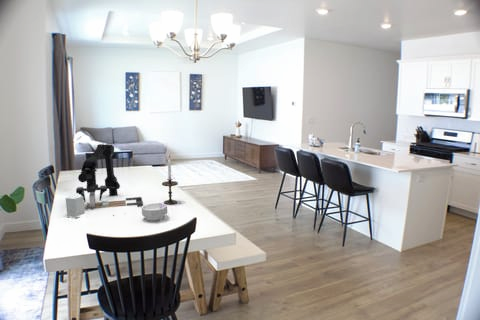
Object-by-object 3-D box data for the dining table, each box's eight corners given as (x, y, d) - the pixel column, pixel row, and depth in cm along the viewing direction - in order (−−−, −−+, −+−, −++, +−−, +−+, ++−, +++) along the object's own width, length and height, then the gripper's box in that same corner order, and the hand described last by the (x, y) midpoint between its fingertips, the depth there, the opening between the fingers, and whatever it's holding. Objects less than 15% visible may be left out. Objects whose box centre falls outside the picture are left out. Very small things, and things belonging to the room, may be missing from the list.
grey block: (90, 203, 247) (90, 190, 245) (95, 203, 248) (94, 190, 246) (89, 208, 237) (89, 194, 236) (94, 207, 238) (94, 194, 237)
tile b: (102, 205, 244) (102, 202, 244) (108, 204, 245) (108, 202, 245) (102, 206, 240) (102, 204, 240) (108, 206, 241) (108, 203, 241)
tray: (126, 202, 256) (125, 198, 256) (141, 201, 260) (141, 196, 259) (126, 207, 243) (126, 203, 243) (143, 206, 246) (142, 202, 246)
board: (87, 205, 248) (87, 203, 248) (125, 202, 256) (125, 200, 256) (85, 211, 235) (85, 209, 235) (126, 207, 243) (126, 205, 243)
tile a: (102, 203, 248) (102, 201, 248) (108, 202, 249) (108, 200, 249) (102, 204, 244) (102, 202, 244) (108, 204, 246) (108, 202, 245)
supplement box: (85, 215, 227) (83, 195, 225) (76, 219, 220) (74, 198, 218) (75, 214, 230) (74, 194, 227) (66, 217, 223) (65, 197, 221)
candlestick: (176, 200, 262) (175, 152, 257) (179, 204, 252) (178, 154, 247) (161, 201, 258) (159, 153, 253) (164, 205, 248) (162, 155, 243)
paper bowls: (137, 218, 222) (136, 205, 221) (158, 213, 233) (158, 201, 231) (150, 224, 211) (150, 211, 210) (172, 218, 222) (172, 206, 221)
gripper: (74, 182, 229) (76, 206, 232) (105, 180, 235) (107, 203, 238) (76, 178, 239) (77, 201, 242) (106, 177, 245) (107, 199, 248)
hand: (92, 201), depth 242 cm, fingers open, 9 cm apart
